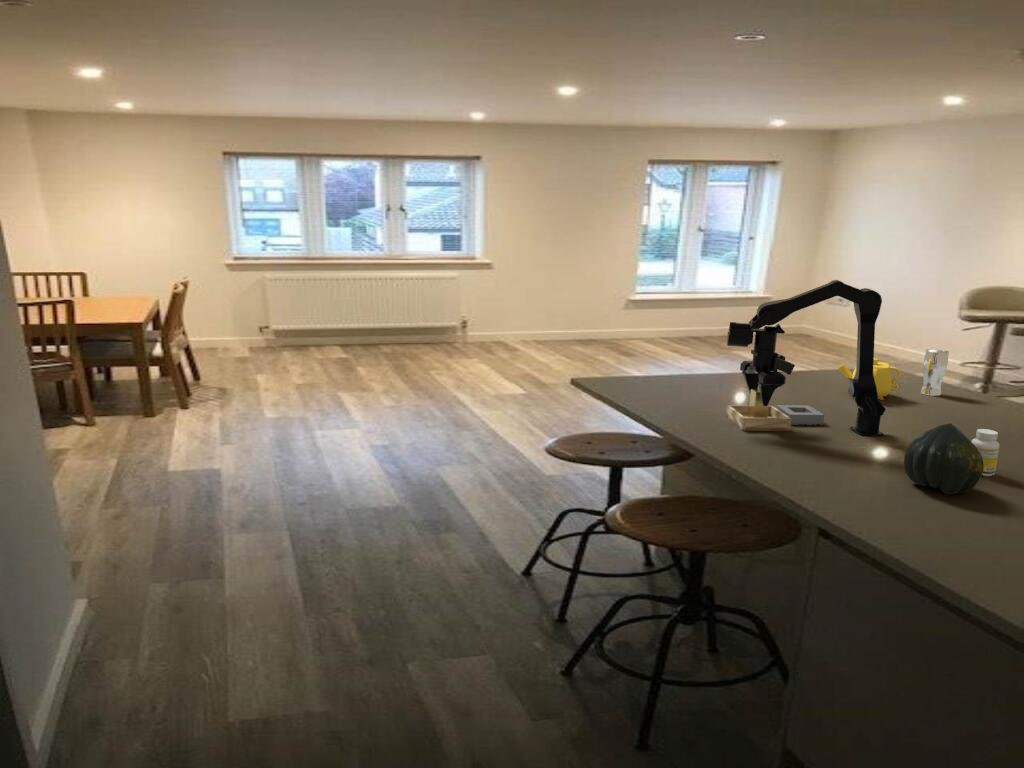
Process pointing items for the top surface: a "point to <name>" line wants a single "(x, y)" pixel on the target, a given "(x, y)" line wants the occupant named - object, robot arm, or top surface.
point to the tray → (758, 419)
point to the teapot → (878, 377)
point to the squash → (944, 460)
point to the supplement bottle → (987, 449)
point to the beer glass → (934, 371)
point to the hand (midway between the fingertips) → (759, 401)
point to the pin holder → (802, 414)
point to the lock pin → (757, 405)
